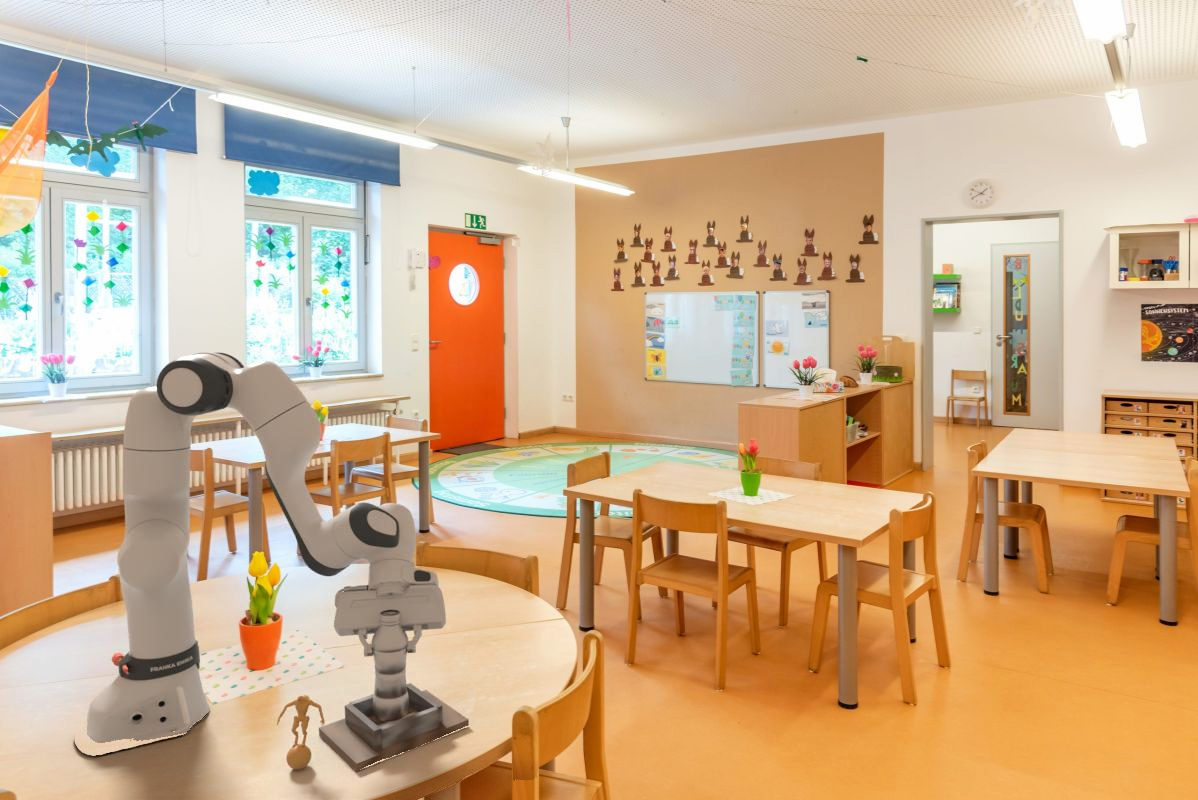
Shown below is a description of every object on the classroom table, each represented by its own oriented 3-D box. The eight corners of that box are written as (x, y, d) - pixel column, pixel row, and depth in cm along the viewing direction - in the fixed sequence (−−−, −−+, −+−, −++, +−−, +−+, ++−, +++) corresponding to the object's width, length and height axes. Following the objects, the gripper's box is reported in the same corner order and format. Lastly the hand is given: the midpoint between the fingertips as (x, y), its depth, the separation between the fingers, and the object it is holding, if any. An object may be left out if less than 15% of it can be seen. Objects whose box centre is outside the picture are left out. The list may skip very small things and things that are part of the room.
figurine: (270, 773, 140) (266, 706, 138) (286, 754, 146) (282, 689, 144) (318, 774, 139) (314, 707, 138) (332, 755, 145) (328, 690, 144)
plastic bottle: (400, 728, 149) (399, 621, 147) (365, 723, 150) (364, 617, 148) (415, 711, 155) (415, 608, 153) (381, 706, 157) (381, 604, 154)
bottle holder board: (356, 771, 140) (355, 744, 139) (319, 735, 152) (317, 709, 151) (468, 727, 154) (467, 701, 154) (426, 696, 166) (425, 673, 166)
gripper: (333, 579, 155) (328, 651, 146) (444, 572, 158) (445, 642, 150) (338, 594, 160) (333, 664, 151) (445, 587, 163) (446, 655, 155)
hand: (390, 653), depth 151 cm, fingers closed on plastic bottle, 6 cm apart
